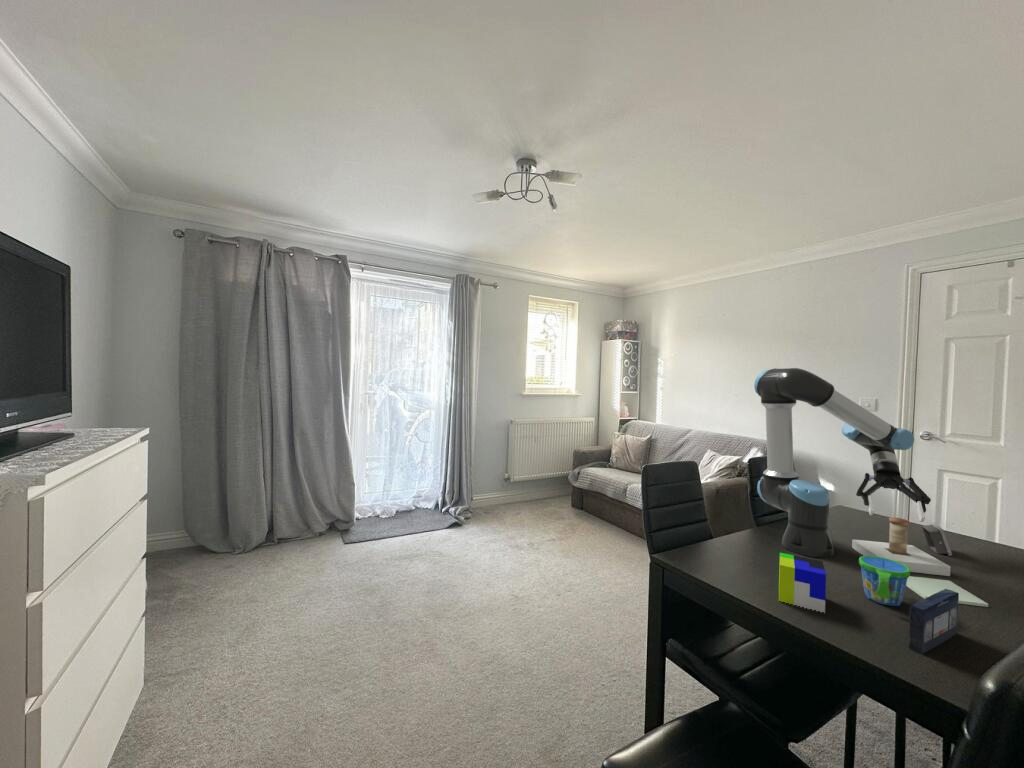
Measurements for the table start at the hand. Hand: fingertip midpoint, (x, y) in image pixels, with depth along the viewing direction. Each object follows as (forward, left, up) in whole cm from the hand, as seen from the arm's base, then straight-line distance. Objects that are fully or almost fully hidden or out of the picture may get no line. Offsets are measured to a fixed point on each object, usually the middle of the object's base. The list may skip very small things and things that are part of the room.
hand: (896, 516), depth 149 cm
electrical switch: (+17, +8, -13) cm, 23 cm away
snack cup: (-24, -40, -13) cm, 48 cm away
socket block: (-3, -7, -13) cm, 15 cm away
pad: (-5, -29, -13) cm, 32 cm away
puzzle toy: (-46, -46, -14) cm, 66 cm away
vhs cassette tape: (-24, -58, -14) cm, 64 cm away
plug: (-3, -7, -13) cm, 15 cm away
